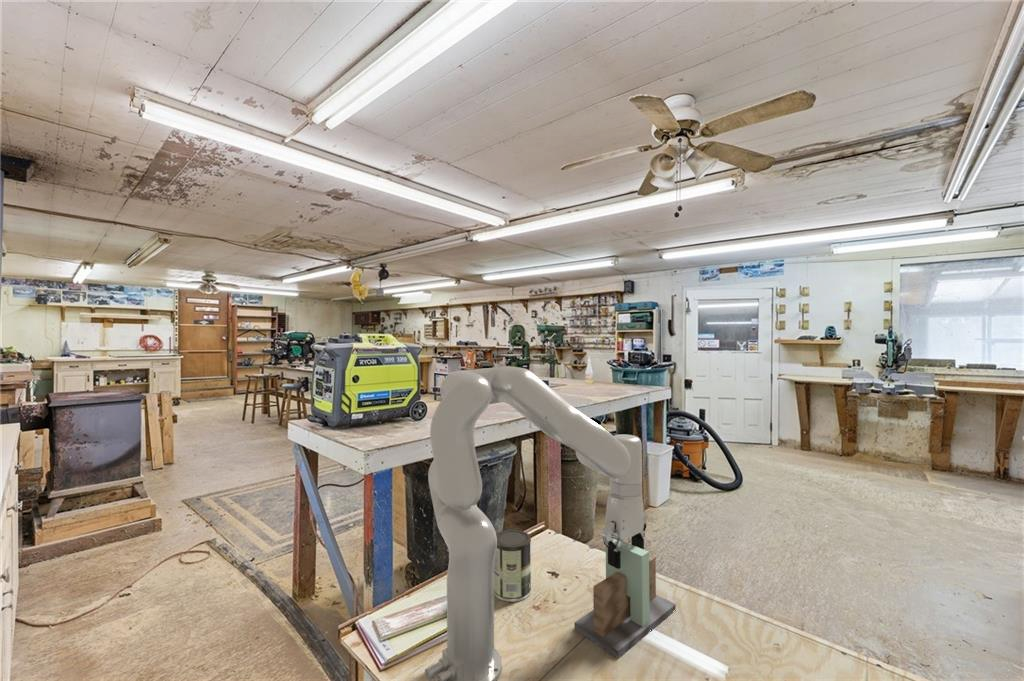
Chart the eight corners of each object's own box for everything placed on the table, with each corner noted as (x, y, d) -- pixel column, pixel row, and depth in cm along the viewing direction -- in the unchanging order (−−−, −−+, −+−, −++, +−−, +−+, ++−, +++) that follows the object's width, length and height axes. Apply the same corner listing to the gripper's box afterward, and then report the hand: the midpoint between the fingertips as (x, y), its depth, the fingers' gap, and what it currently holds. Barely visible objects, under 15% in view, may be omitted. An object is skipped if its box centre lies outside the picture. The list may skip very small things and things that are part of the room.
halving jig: (618, 658, 87) (618, 603, 87) (574, 628, 96) (574, 578, 96) (675, 610, 103) (675, 563, 103) (633, 588, 112) (632, 545, 112)
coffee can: (520, 576, 118) (520, 526, 118) (538, 596, 109) (537, 542, 109) (487, 585, 114) (486, 533, 114) (501, 606, 105) (501, 550, 105)
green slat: (642, 626, 95) (642, 556, 95) (606, 606, 102) (605, 540, 102) (649, 621, 97) (649, 551, 97) (613, 601, 104) (612, 537, 104)
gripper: (632, 476, 108) (633, 542, 108) (590, 491, 97) (591, 565, 97) (659, 483, 103) (659, 553, 102) (617, 500, 91) (618, 579, 91)
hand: (626, 559), depth 100 cm, fingers open, 9 cm apart
